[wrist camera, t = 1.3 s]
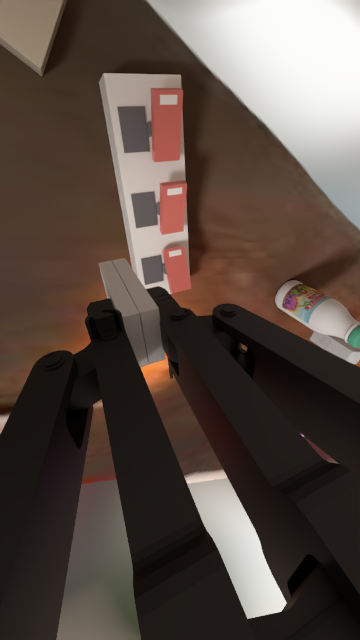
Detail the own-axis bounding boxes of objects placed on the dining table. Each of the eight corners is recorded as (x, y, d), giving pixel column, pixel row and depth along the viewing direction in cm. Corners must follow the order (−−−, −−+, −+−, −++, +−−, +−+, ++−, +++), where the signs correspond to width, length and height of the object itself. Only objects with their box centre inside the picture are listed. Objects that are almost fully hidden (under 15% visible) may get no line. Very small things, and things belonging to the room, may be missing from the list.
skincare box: (328, 328, 76) (365, 352, 67) (320, 340, 78) (356, 364, 69) (316, 327, 73) (353, 351, 64) (308, 339, 75) (344, 364, 66)
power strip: (142, 322, 49) (149, 336, 45) (98, 82, 30) (104, 70, 26) (183, 311, 52) (194, 323, 48) (169, 83, 32) (184, 72, 28)
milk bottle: (303, 291, 63) (383, 334, 48) (280, 313, 64) (351, 361, 48) (293, 272, 58) (379, 312, 43) (269, 295, 59) (344, 343, 44)
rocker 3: (170, 292, 40) (172, 293, 39) (161, 250, 39) (163, 249, 38) (189, 288, 41) (191, 288, 40) (182, 246, 39) (184, 245, 38)
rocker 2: (159, 231, 37) (162, 235, 36) (159, 182, 32) (162, 186, 31) (181, 227, 38) (183, 231, 37) (184, 180, 33) (187, 183, 32)
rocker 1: (152, 159, 32) (155, 162, 31) (150, 87, 27) (153, 90, 26) (176, 157, 33) (180, 160, 32) (179, 88, 28) (183, 90, 27)
